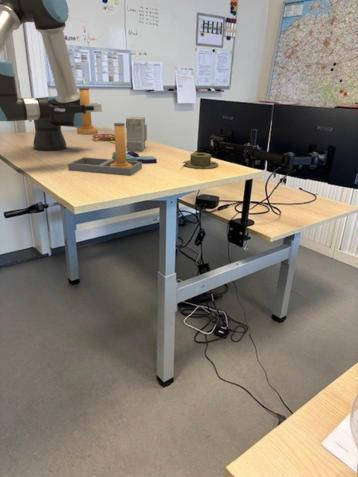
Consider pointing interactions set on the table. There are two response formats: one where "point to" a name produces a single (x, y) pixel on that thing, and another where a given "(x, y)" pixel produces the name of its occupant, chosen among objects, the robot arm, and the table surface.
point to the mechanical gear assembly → (105, 137)
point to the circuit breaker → (136, 134)
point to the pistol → (137, 158)
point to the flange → (200, 161)
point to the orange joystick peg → (86, 115)
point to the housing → (103, 166)
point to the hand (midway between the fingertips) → (99, 107)
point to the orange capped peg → (120, 147)
